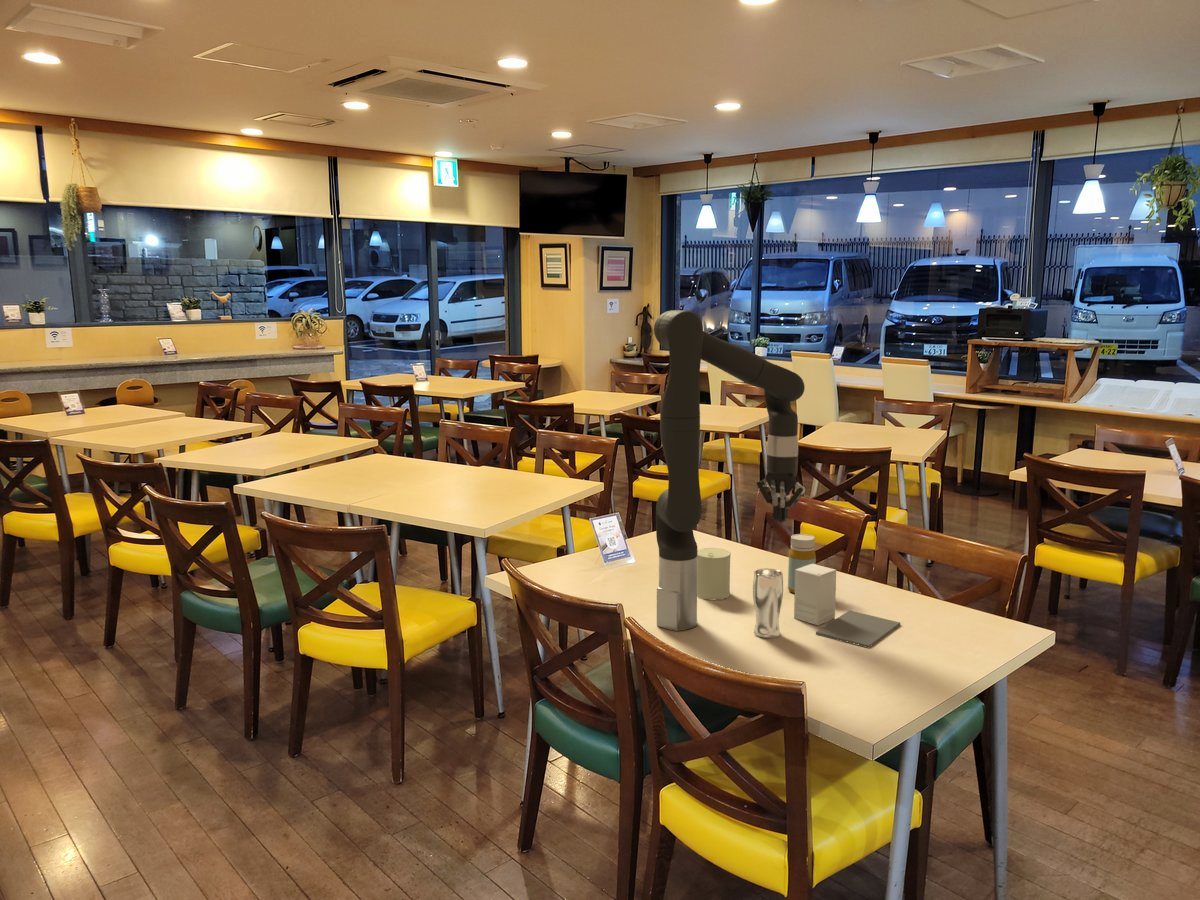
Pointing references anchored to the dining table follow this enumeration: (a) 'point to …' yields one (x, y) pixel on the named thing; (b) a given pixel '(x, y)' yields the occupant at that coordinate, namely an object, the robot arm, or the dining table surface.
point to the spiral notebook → (858, 628)
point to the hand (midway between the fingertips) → (780, 521)
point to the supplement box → (815, 594)
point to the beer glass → (767, 601)
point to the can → (713, 573)
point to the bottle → (800, 556)
